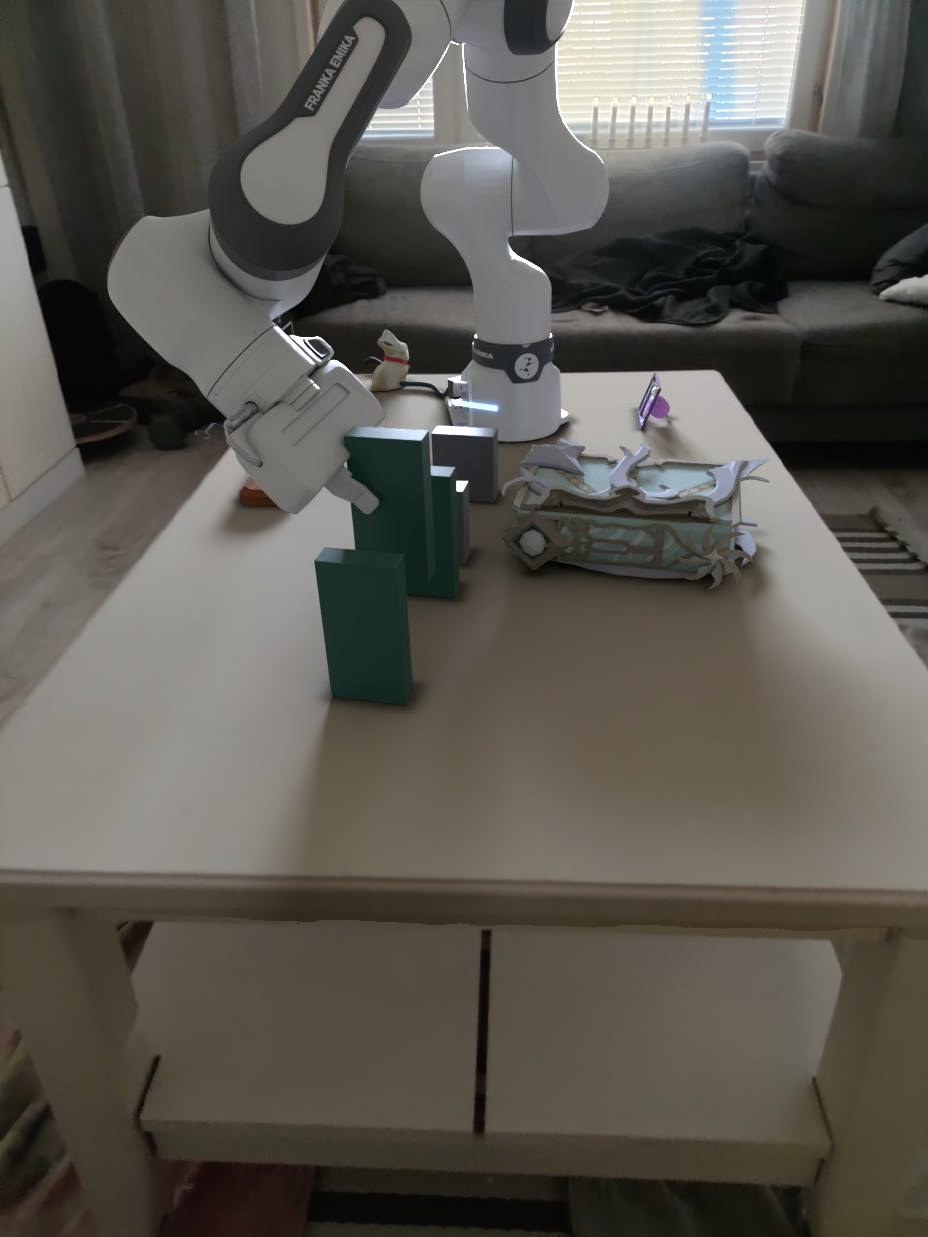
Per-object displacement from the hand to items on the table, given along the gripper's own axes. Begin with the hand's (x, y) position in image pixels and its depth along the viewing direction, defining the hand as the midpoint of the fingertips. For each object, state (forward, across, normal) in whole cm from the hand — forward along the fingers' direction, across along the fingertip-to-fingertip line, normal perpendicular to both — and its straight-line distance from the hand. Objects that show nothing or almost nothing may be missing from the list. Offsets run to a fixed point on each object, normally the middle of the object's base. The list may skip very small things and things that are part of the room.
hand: (382, 497), depth 81 cm
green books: (+11, 0, +10) cm, 15 cm away
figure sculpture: (-8, +36, +30) cm, 47 cm away
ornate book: (+26, +25, -5) cm, 37 cm away
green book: (+6, 0, +5) cm, 8 cm away
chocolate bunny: (-6, +79, +28) cm, 84 cm away
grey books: (+10, +26, +11) cm, 30 cm away
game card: (+27, +68, -5) cm, 73 cm away
